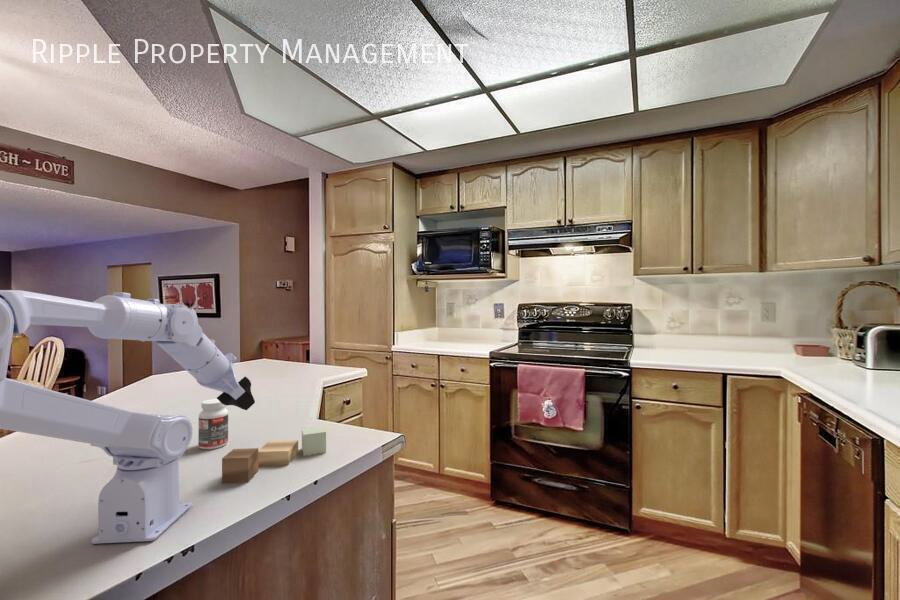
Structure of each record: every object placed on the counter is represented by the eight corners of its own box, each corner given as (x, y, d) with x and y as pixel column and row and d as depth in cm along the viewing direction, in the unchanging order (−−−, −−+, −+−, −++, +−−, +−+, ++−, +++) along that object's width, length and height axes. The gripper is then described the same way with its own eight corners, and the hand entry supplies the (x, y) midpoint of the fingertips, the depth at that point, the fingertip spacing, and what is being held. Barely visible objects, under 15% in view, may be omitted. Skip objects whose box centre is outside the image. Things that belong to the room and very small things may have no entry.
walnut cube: (248, 482, 71) (248, 457, 71) (222, 483, 71) (221, 458, 71) (258, 471, 76) (258, 448, 76) (233, 472, 75) (233, 448, 75)
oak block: (288, 466, 79) (288, 450, 79) (257, 467, 78) (257, 451, 78) (298, 454, 85) (298, 440, 85) (269, 455, 84) (268, 440, 84)
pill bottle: (214, 451, 86) (214, 404, 86) (192, 449, 87) (191, 403, 87) (234, 441, 91) (234, 398, 91) (212, 440, 92) (212, 397, 92)
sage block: (326, 453, 85) (326, 431, 85) (303, 456, 83) (303, 434, 83) (323, 445, 89) (323, 425, 89) (301, 449, 87) (301, 428, 87)
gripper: (242, 359, 67) (277, 398, 77) (199, 322, 73) (236, 363, 83) (204, 390, 63) (246, 427, 73) (162, 349, 70) (206, 388, 80)
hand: (238, 395), depth 78 cm, fingers open, 7 cm apart
